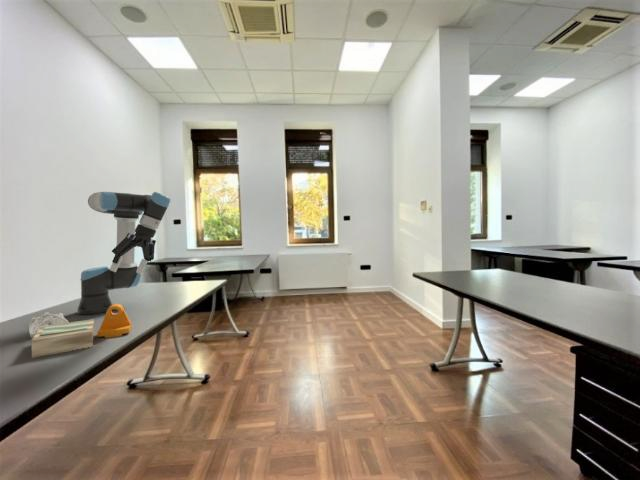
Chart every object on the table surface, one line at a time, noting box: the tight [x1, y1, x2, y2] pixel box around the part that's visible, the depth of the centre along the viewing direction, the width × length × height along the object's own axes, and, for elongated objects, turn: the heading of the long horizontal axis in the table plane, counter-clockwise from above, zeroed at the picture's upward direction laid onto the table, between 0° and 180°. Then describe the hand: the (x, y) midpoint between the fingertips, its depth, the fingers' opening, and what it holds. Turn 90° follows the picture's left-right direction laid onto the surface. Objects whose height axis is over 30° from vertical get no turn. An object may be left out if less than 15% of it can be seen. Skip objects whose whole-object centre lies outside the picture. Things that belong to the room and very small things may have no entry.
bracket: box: [96, 303, 132, 338], centre depth 120 cm, size 11×7×12 cm, turn 117°
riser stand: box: [30, 318, 95, 359], centre depth 109 cm, size 18×16×6 cm
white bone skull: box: [28, 311, 70, 339], centre depth 122 cm, size 12×9×10 cm
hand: (126, 272), depth 124 cm, fingers open, 13 cm apart
